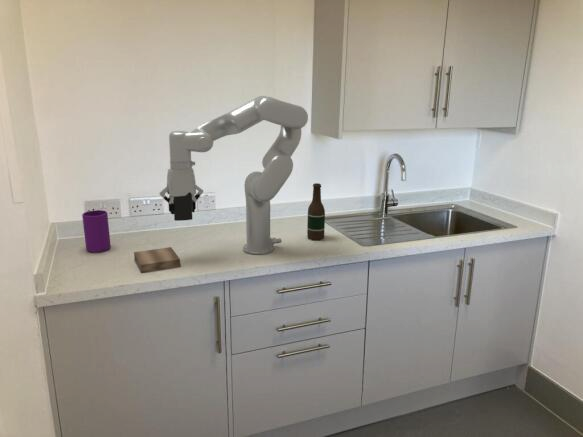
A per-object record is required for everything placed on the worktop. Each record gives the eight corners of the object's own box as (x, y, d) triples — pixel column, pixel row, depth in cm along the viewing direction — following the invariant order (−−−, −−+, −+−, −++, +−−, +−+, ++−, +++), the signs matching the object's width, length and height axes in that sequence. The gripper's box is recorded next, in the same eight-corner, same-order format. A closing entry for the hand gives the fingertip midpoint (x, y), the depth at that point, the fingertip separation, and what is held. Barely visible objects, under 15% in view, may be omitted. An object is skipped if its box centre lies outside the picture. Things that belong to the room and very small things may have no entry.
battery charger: (191, 217, 188) (190, 188, 185) (193, 220, 185) (192, 190, 181) (173, 218, 186) (171, 189, 183) (174, 221, 182) (172, 191, 179)
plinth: (171, 254, 192) (171, 247, 192) (180, 266, 180) (179, 259, 180) (134, 259, 186) (133, 252, 186) (141, 272, 174) (140, 265, 174)
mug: (87, 254, 191) (82, 217, 187) (84, 242, 205) (80, 207, 200) (112, 251, 195) (108, 214, 191) (107, 239, 208) (104, 205, 204)
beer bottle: (304, 239, 211) (305, 184, 204) (310, 234, 218) (311, 181, 211) (321, 242, 208) (322, 186, 202) (326, 236, 215) (328, 183, 208)
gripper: (201, 162, 186) (202, 207, 191) (154, 165, 179) (156, 212, 184) (207, 166, 180) (207, 212, 185) (158, 168, 172) (161, 217, 177)
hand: (182, 212), depth 184 cm, fingers closed on battery charger, 7 cm apart
